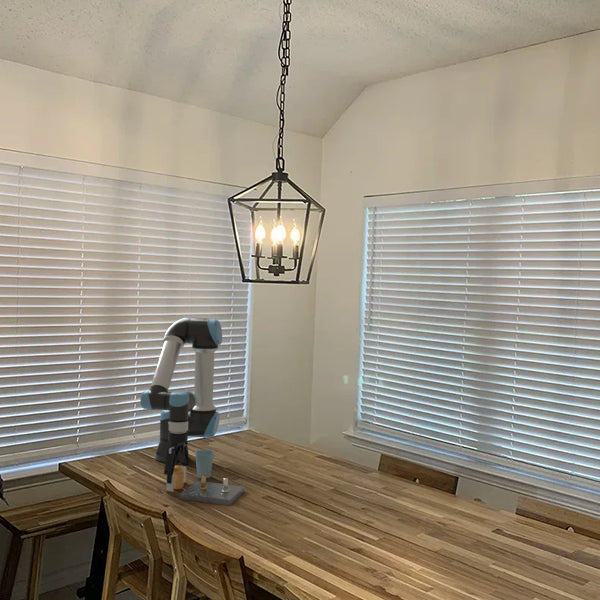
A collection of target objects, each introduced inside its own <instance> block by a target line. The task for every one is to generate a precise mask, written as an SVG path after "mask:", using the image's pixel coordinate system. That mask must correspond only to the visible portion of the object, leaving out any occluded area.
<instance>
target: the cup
mask: <svg viewBox="0 0 600 600" xmlns="http://www.w3.org/2000/svg"><path fill="white" fill-rule="evenodd" d="M214 454H215V452H214V450H211V449H198V450H196V451H195V454H194V455H195V464H196V465H195V466H196V477H197V478H198V479H201V476H202V475H206V479H210V478H211V475H212V469H213V462H214V456H215V455H214Z"/></svg>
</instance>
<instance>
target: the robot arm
mask: <svg viewBox="0 0 600 600" xmlns="http://www.w3.org/2000/svg"><path fill="white" fill-rule="evenodd" d="M222 343H223V330H222V326H221V322H220V321H219V320H218V319H216V318H215V319H214V318H202V317H200V318H199V317H183V318H180V319H177V320H176V321H175V322H174V323H172V325H170V327H168V329H167V331H166V332H165V334H164V335H163V338H162V345H163V347H162V350H161V352H160V355H159V359H158V362H157V365H156V367H155V368H156V369H155V371H154V374H153V377H152V381H151V385H150V387H149V390H143V392H142V393H141V395H140V399H139V400H140V401H139V402H140V406H141V408H142V409H144V410H151V411H153V410H154V411H160V419H159V441H158V445H157V448H156V450H155V454H154V455H155V456H154V459H155V460H156V461H158V462H162V463H165V465H164V470H163V474H164V475H166V485H165V486H166V487H165V488H166V492H171V493H173V492H174V490H175V489H174V474H173V472H174V468H175V466H176V463H178V462H179V463H180V466H182V468H183V469H184V481H183V484H185V483H186V482H187V467H189V465H190V457H189V456H190V453H189V448H188V438H189V437H191V438H193V437H194V438H203V439H205V438H213V437H214V436H215V435H216V434H217V431H218V429H219V424H220V418H221V417H220V412H218V411H217V407H216V406H215V405H214V404H213V403H214V379H215V352H217V350H218V349H219V346H220V345H222ZM185 344H192V345H191V348H192V349H193V351H194V352H195V355H194V356H195V359H194V383H193V384H194V385H193V387H194V388H193V392H192V391H180V390H179V391H178V390H177V391H172V392H171V391H169V388H170V385H171V383H172V382H171V381H172V378H173V376H174V372H175V370H176V369H175V368H176V365H177V362H178V358H179V355H180V351H181V350H182V349H183V348H184V347H185Z"/></svg>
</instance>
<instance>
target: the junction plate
mask: <svg viewBox="0 0 600 600" xmlns="http://www.w3.org/2000/svg"><path fill="white" fill-rule="evenodd" d="M200 479H201V480H197V481H195V482H193V483H192V484H191V485H189V486H188V487H187V488H186V489H184V490H183V491H182V492H180V493H179V499H180V500H185V501H191V502H192V501H194V502H202V503H209V504H217V505H224V506H231V505H233V504H234V502H235V501H237V499H239V498H240V497H241V495H242V494H244V493H245V486H243V485H241V486H240V485H235V484H229V478H228V477H223V478H222V479H223V480H222V483H218V482H209V481H207V478H206V475H202V476H201V478H200Z"/></svg>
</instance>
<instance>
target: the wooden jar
mask: <svg viewBox="0 0 600 600" xmlns="http://www.w3.org/2000/svg"><path fill="white" fill-rule="evenodd" d="M173 474H174V490H180V489H183V488H184V483H183V481H184V469H183V468H182V465H179V464H177V465H175V468H174V472H173Z"/></svg>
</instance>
